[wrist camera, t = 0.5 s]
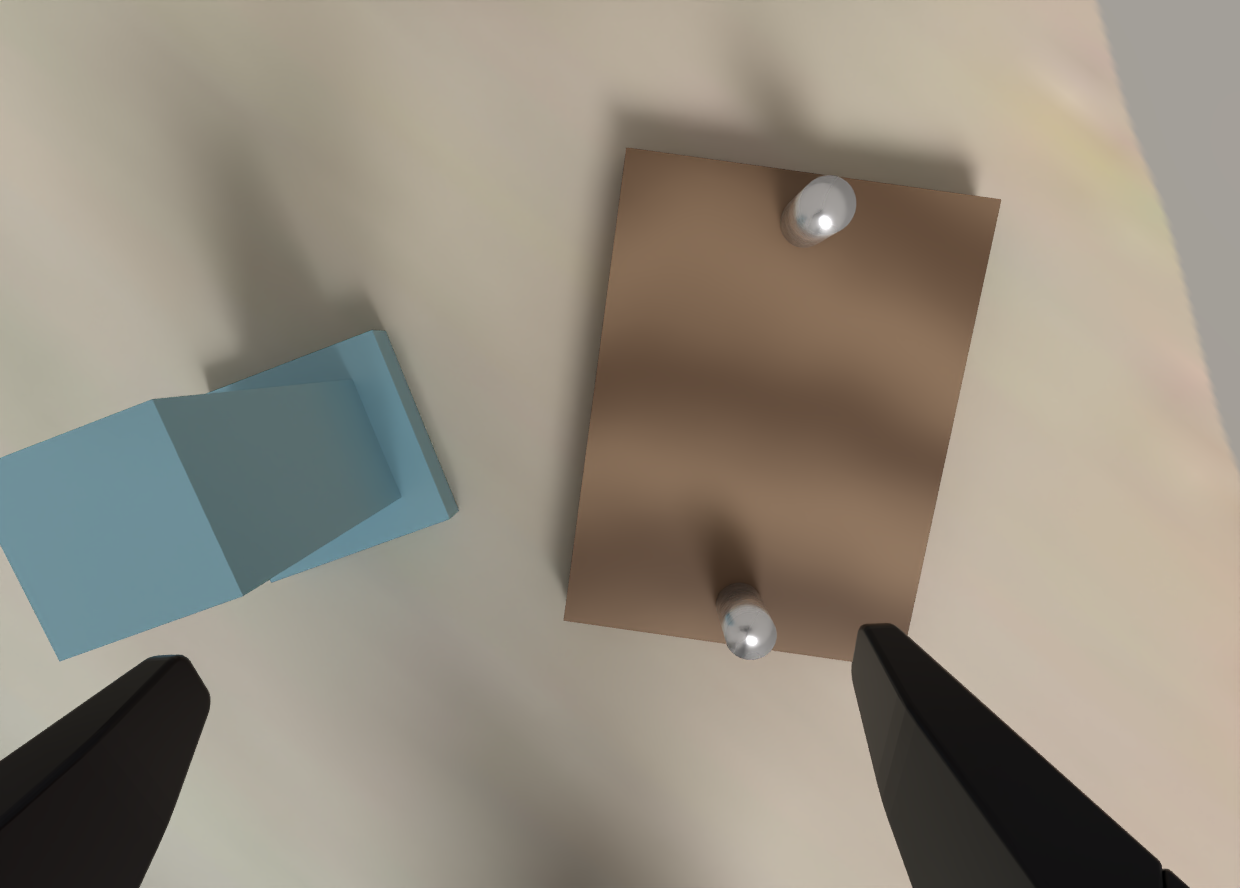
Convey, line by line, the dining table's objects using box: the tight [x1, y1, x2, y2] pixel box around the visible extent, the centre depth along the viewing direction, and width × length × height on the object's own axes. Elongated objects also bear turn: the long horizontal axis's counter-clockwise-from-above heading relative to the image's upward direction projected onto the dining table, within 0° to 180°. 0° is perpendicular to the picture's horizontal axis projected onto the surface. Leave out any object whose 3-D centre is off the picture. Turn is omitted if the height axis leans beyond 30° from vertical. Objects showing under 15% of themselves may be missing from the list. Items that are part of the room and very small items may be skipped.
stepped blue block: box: [0, 330, 459, 661], centre depth 19 cm, size 7×7×10 cm
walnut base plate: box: [564, 148, 1001, 662], centre depth 23 cm, size 16×12×2 cm
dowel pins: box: [716, 175, 856, 660], centre depth 21 cm, size 15×2×2 cm, turn 172°
